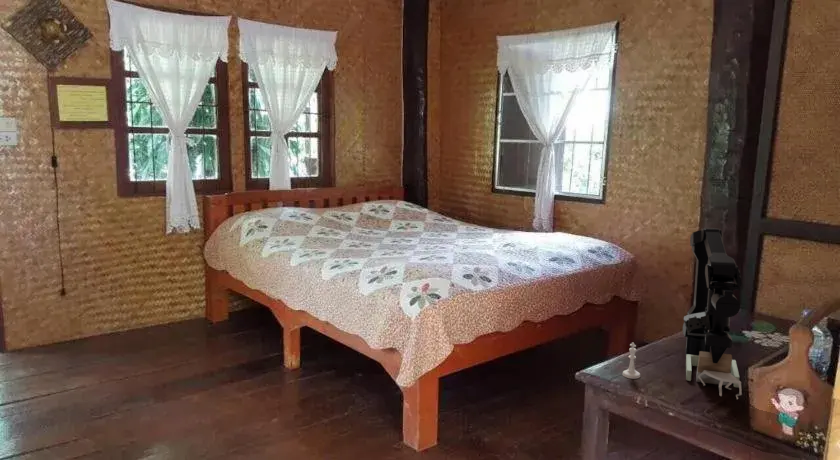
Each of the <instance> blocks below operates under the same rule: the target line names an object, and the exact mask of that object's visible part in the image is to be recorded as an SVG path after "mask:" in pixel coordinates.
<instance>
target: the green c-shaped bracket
mask: <svg viewBox="0 0 840 460" xmlns="http://www.w3.org/2000/svg"><path fill="white" fill-rule="evenodd" d="M698 359H699V356H698V355H690V354H686V355H685V380H686V381H689V382H691V380H692V373H693V372H692V367H693V366H694V367H698ZM730 373H731V375H732V376H734V377H735V378H736V379H738V380H739V381H740V373H739V369H738V365H737V361H736V359H732V364H731V369H730ZM732 384H733V387H734V388H739V386H738V384H737V383H732Z"/></svg>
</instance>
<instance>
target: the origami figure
mask: <svg viewBox="0 0 840 460" xmlns="http://www.w3.org/2000/svg"><path fill="white" fill-rule="evenodd" d="M704 374H706V375H708V376H710V377H712V378H715V379H718V380H720V383H719V384H718V392H719V393H718V394H719V396H720V397H722V396H723V389H722V388H723V387H722V386H723V385H722V384H723V381H724V382H728V384H727V385H724V388H725V389H727V390H731V388H730V387H731V385H732V384H733V383H737V384H738V386H739V387H738V389H739V392H738V393H737V394H735V397H736V400H739V396H742V395H743V393H742V381H741V380H740V379H739V380H738V379H736V378H735V377H734V376H732V375H731V372H730V373H723V372H715V371H706V370H704V371H703V372H702V373H701V374H699V375H698V378H699V379H700V380H701V382H700V383H702V385H703V387H705V386H706V383H704V382H703V380H702V379H701V377H700V376H702V375H704Z"/></svg>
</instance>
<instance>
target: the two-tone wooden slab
mask: <svg viewBox="0 0 840 460" xmlns="http://www.w3.org/2000/svg"><path fill="white" fill-rule="evenodd" d="M732 360H733V355H732V354H730V353H723V355H722V356H721V358H720V360H719V361H718V363H713V360H712V353H711V351H710V352H703V351H700V352H699V359H698V366H696V377H695V378H696V379H695V380H696V382H697V383H702V382H701V380H700V379H699V378H698V375H699V374H701V373H702V372H703V371H704V370H706V371H715V372H723V373H731V371H730V369H731V364H732ZM700 377H701V379H702V380H703V382H704V384H713V385H719V383H720V380H718V379H715V378H712V377H710V376H708V375H706V374H704V375H702V376H700ZM728 383H729V382H724V381H723V384H722V386H726V385H727V384H728Z"/></svg>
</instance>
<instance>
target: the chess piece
mask: <svg viewBox="0 0 840 460" xmlns="http://www.w3.org/2000/svg"><path fill="white" fill-rule="evenodd" d="M629 346H630V348H629V349H628V350H629V354H630V355H628V358H629V359H630V360H629V365H628V368H627V369H625V370H623V371H622V376H623V377H624V378H626V379H627V378H628V379H634V380H635V379H640V378H641V373H640V372H639V371H637V370H636V368H635V359H637V357H636V355H635V354H636V353H637V349H636V347H637V344H635V343H634V342H631V343H630V344H629Z"/></svg>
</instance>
